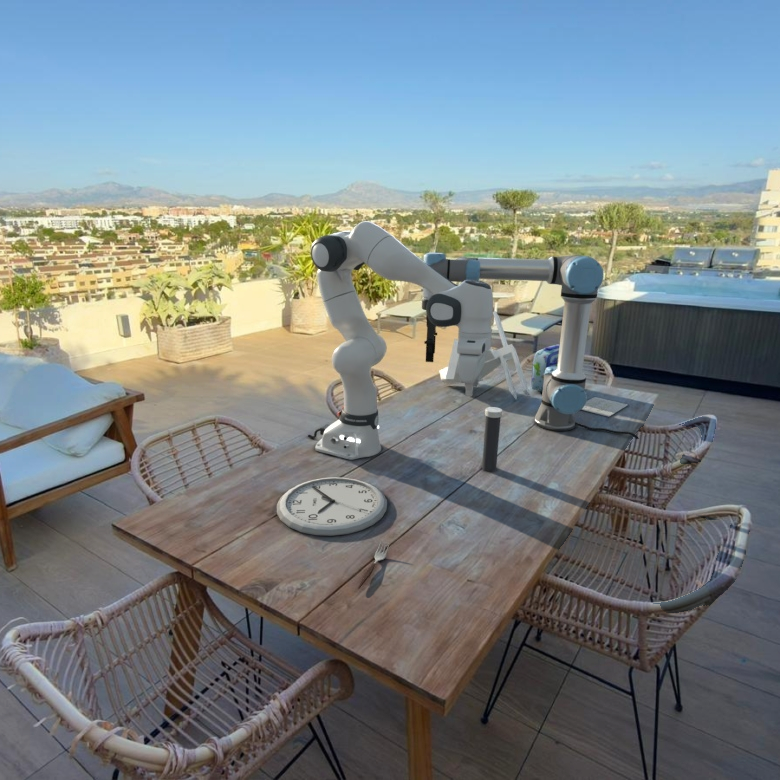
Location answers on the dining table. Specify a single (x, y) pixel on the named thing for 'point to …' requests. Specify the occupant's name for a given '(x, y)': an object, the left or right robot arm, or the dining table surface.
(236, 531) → the dining table surface
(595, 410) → the invitation card
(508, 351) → the white plastic object
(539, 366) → the lunch box
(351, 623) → the dining table surface
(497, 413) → the cream round lid
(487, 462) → the dark grey cylinder
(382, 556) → the fork
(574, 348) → the right robot arm
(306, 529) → the wall clock
